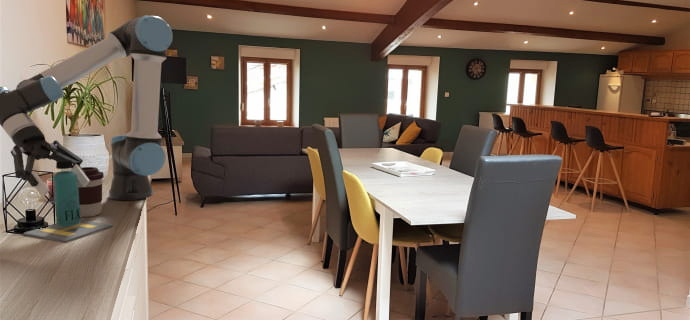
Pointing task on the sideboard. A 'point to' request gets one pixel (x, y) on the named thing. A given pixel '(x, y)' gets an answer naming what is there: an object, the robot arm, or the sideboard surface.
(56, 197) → the beverage bottle
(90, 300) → the sideboard surface
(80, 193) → the coffee cup
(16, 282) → the sideboard surface
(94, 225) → the letter board
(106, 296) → the sideboard surface
